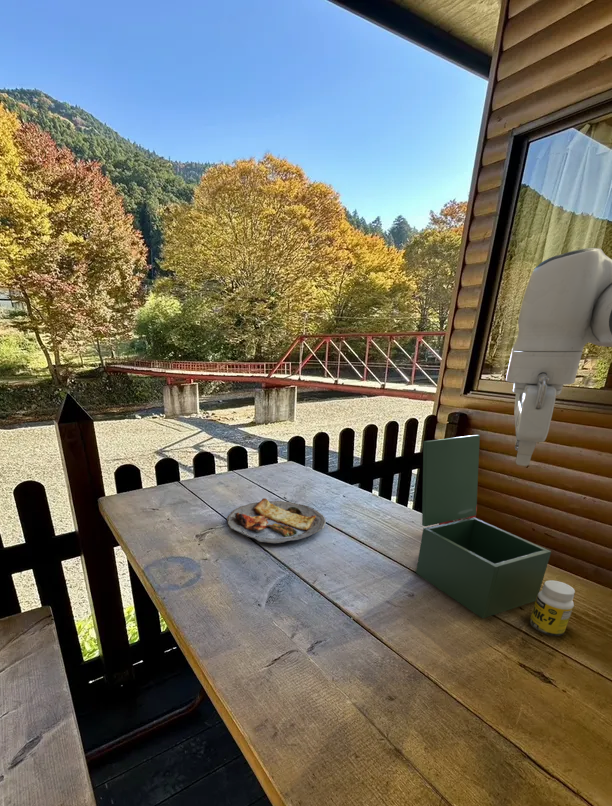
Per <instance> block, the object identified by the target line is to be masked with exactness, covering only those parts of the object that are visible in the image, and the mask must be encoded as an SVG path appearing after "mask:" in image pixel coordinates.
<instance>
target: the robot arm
mask: <svg viewBox="0 0 612 806" xmlns="http://www.w3.org/2000/svg"><path fill="white" fill-rule="evenodd" d="M517 319H518V320H517V324H518V334H517V337H516V340H515V342H514V344H513V346H512V349H511V354H510V358H509V363H508V368H507V373H506V378H505V381H506V382H508V383H513V389H512V392H513V393H515V400H514V412H513V413H514V414H513V415H514V427H515V429H514V430H515V439H516V440H515V444H514V450H515V451H516V452H517V453H516V458H515V464H516V465H517V466H523V467H527V466H530V464H531V459H532V455H533V453H534V451H535V450H536V447H537V443H544V442H546V439H547V437H548V434H549V431H550V426H551V422H552V418H553V413H554V408H555V403H556V397H557V396H559V395H561V394H562V392H563V387H564V385H572V384H574V383H575V381H576V378H577V373H578V371H579V366H580V363H581V359H582V356H583V351H584V348H585V346H586V345H587V344H588V343H589V344H592V345H596V346H598V347H605V348H612V258H611V257H609V256H608V255H606V254H605V252H604V251H603V249H602V248H600V247H585V248H580V249H575V250H571V251H568V252H563V253H561V254H558V255H557V254H556V255H554V256H551V257H549V258H547V259H545V260H543V261H541V262H540V263H538V265H537V266H536V267H535V268H534V269H533V270H532V273H531V274H530V277H529V279H528V282H527V286H526V288H525V291H524V295H523V298H522V303H521V306H520V310H519V315H518V318H517Z"/></svg>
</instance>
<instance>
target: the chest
mask: <svg viewBox="0 0 612 806" xmlns="http://www.w3.org/2000/svg"><path fill="white" fill-rule="evenodd" d="M420 540H421V541H420V544H419V545H420V546H419V552H418V559H417V564H416V569H415V574H416V575H417V576H419V577H420V578H422V579H424V580H425V581H426V582H428V583H430V584H431V585H433V587H435V588H437V589H438V590H440V591H442V592H443V593H444V594H446V595H448V596H449V597H451V599H453V600H454V601H456V602H457V603H459V604H460V605H462V606H463V607H465V608H466V609H468V610H470V611H471V612H472V613H474V614H475V615H477V616H478V617H480V618H481V619H486V618H490V617H493V616H495V615H499V614H502V613H504V612H506V611H509V610H512V609H516V608H519V607H522V606H524V605H527V604H530V603H535V602H536V598H537V595H538V593H539V592H540V591H541V588H542V585H543V581H544V577H545V576H546V575H545V574H546V571H547V568H548V565H549V562H550V558H551V554H552V550H550V549H547V548H545V547H543V546H540V545H538V544H535V543H534V542H531V541H529V540H527V539H524V538H522V537H520V536H518V535H516V534H513V533H511V532H509V531H507V530H504V529H502V528H499V527H497V526H495V525H493V524H490V523H489V522H486V521H484V520H482V519H480V518H477V517H473V518H468V519H464V520H459V521H455V522H450V523H445V524H441V525H439V524H435V525H431V526H426V527H423V529H422V535H421V539H420Z"/></svg>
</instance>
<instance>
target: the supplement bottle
mask: <svg viewBox="0 0 612 806" xmlns="http://www.w3.org/2000/svg"><path fill="white" fill-rule="evenodd" d="M543 583H544V584H543V586H542V587H541V588H542V589H540V591H539V593H538V595H537V598H536V601H534V605H533V608H532V612H531V615H530V618H529V624H530V626H531V627H532V628H533V629H535V630H536V631H538V632H540V633H542V634H545V635H547V636H552V637H561V636H563V635H564V634H565V632H566V629H567V627H568V623H569V620H570V618H571V615H572V612H573V610H574V606H575V603H574V601H573V600H574V597H575V593H576V590H575V588H573V587H572V586H571V585H569V584H568V583H565V582H562V581H559V580H553V579H549V580H546V581H544V582H543Z"/></svg>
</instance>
